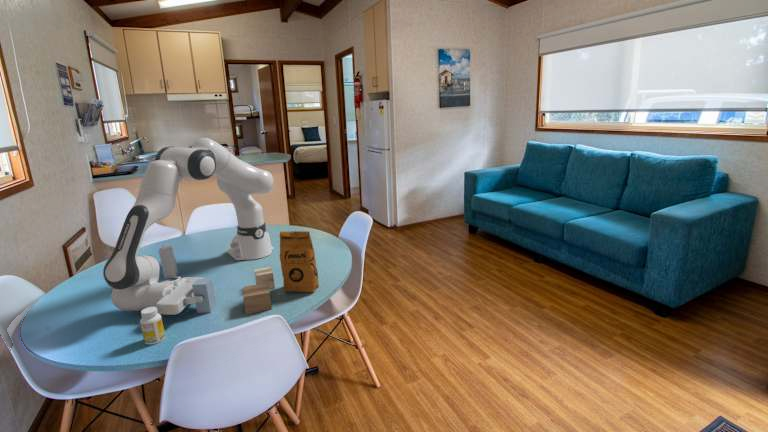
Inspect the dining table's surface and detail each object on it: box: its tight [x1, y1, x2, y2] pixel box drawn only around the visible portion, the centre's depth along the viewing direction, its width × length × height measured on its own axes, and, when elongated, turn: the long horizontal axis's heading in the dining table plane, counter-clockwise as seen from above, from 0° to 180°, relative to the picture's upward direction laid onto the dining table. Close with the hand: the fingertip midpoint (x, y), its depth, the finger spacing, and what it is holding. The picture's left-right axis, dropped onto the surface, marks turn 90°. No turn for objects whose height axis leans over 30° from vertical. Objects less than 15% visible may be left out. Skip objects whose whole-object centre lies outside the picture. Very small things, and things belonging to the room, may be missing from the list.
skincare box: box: [158, 244, 179, 279], centre depth 160 cm, size 6×4×12 cm
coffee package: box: [279, 230, 320, 293], centre depth 141 cm, size 10×12×22 cm
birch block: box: [253, 266, 276, 290], centre depth 147 cm, size 6×6×6 cm
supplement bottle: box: [139, 307, 166, 346], centre depth 114 cm, size 5×5×10 cm
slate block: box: [192, 278, 217, 314], centre depth 131 cm, size 4×4×10 cm
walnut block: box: [242, 283, 273, 315], centre depth 132 cm, size 8×8×6 cm
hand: (207, 294), depth 131 cm, fingers closed on slate block, 4 cm apart
